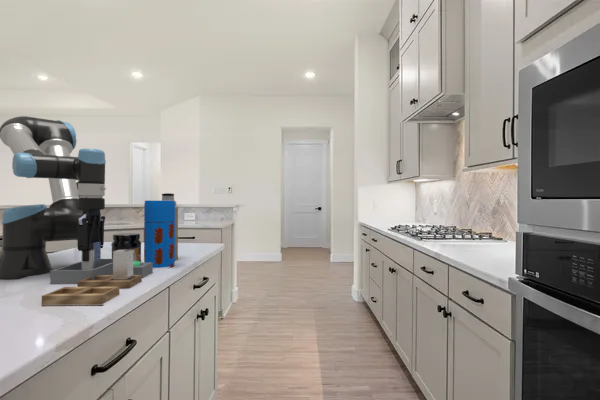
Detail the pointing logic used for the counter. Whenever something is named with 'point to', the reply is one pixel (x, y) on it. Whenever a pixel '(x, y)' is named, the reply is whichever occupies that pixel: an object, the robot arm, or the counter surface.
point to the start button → (136, 263)
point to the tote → (79, 272)
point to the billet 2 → (123, 264)
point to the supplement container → (127, 244)
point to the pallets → (89, 291)
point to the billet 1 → (95, 254)
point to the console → (143, 269)
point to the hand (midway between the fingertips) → (90, 269)
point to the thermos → (159, 233)
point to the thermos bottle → (171, 198)
